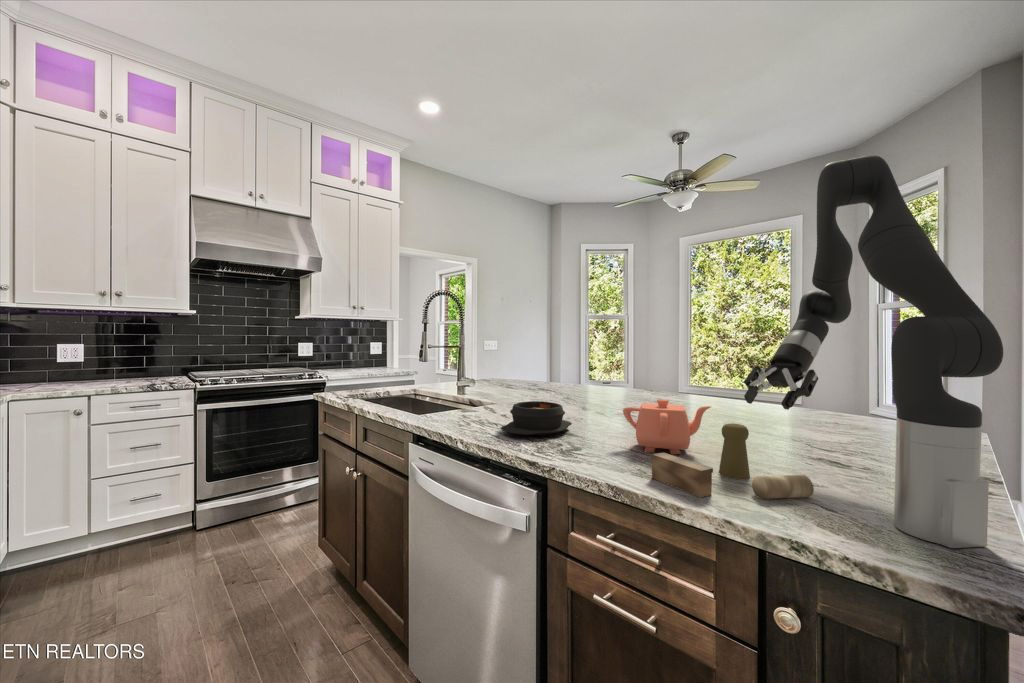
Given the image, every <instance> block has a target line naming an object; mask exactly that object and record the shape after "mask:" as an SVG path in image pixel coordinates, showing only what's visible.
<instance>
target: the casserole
mask: <svg viewBox="0 0 1024 683" xmlns="http://www.w3.org/2000/svg"><path fill="white" fill-rule="evenodd" d="M509 412H510V414H511V416H512V421H511V422H509V423H507V424H505V425H502V426H501V427H500V430H501V431H504V432H507V433H509V434H514V435H515V434H516V435H521V436H522V435H524V436H534V435H545V436H550V435H554V434H557V433H560V432H563V431H566V430H567V429H568V428H569V427H570V426H571V425H573V423H572V422H570V421H569V420H564V419H563V417H564V415H565V414H566V411H565V410H564V409H563V405H562V404H559V403H556V402H549V401H539V400H538V401H535V400H531V401H530V400H529V401H521V402H517V403H514V404H513V405H512V408H511V409H510V410H509Z"/></svg>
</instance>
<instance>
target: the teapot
mask: <svg viewBox="0 0 1024 683" xmlns="http://www.w3.org/2000/svg"><path fill="white" fill-rule="evenodd" d="M669 402H670V400H668V399H656V403H645V402H643V403H641V404H640V407H634V406H627V407H624V408H623V409H622V412H623V414H622V415H624V418H625V419H626V420H627V422H628V423H629V424H630V426H631V427H633V428H634V429H635V438H636V441H637V444H638V446H640V447H645V448H644V450H643V452H645V451H646V452H645V453H648V452H654V453H656V452H655V451H656V449H667V450H669V453H670V454H671V453H672V454H671V455H673V454H681V455H682V453H681V450H688V449H689V447H690V443H691V436H694V435H695V434H696V433H698V431H699V429H700V427H701V424H702V419H703V415H704V413H705V412H706V411H707V410H708V409H710V408H712V407H713V406H711V405H707V406H706V405H705V406H700V407H699V408H698V409H697V410H696V413H695V416H694V419H692V421H691V422H689V418H688V413H687V410H686V408H685V407H684V405H678V404H669ZM632 412H638V415H637V419H636V422H635V421H634V419H633V416H632V414H631V413H632Z"/></svg>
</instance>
